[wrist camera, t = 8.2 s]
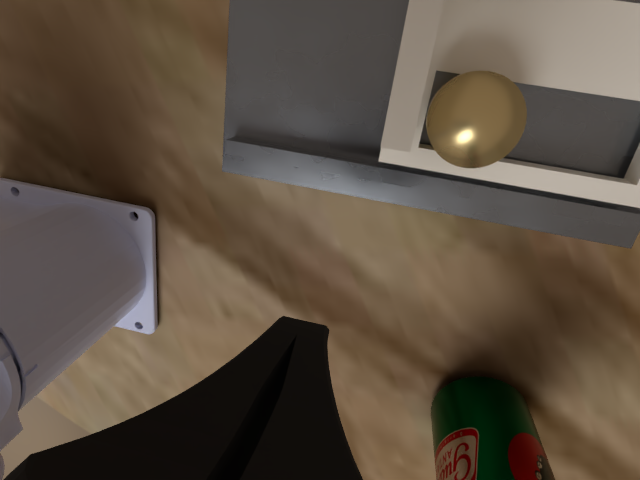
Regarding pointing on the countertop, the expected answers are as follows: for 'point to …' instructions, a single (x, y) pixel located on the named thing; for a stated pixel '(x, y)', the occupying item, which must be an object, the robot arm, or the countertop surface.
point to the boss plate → (438, 130)
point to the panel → (516, 76)
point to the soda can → (485, 433)
